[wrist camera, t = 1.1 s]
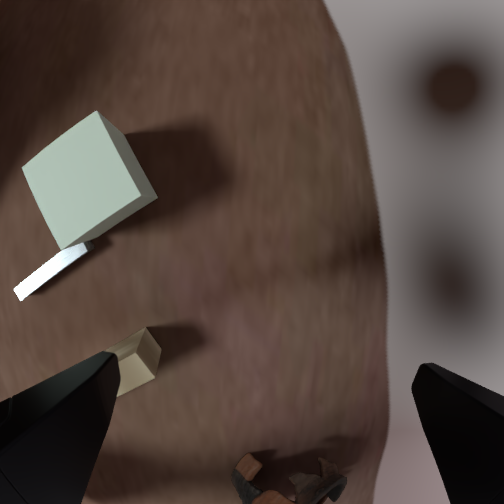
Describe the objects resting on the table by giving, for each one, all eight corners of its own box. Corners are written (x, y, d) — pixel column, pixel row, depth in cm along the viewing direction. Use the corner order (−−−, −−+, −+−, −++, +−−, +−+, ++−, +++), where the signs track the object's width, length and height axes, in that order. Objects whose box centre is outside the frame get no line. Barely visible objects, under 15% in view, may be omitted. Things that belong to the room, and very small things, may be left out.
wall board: (31, 415, 20) (15, 441, 16) (17, 399, 20) (-1, 423, 16) (161, 349, 21) (155, 377, 17) (145, 327, 21) (135, 352, 17)
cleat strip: (29, 295, 19) (20, 301, 17) (23, 284, 19) (13, 289, 17) (95, 247, 19) (87, 251, 18) (87, 235, 19) (80, 237, 18)
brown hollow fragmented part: (255, 425, 24) (328, 477, 18) (306, 430, 30) (365, 466, 24) (194, 513, 21) (248, 568, 15) (252, 506, 27) (302, 545, 21)
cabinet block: (97, 237, 19) (61, 250, 13) (64, 173, 18) (20, 165, 12) (158, 197, 20) (141, 195, 14) (122, 133, 18) (95, 107, 13)
